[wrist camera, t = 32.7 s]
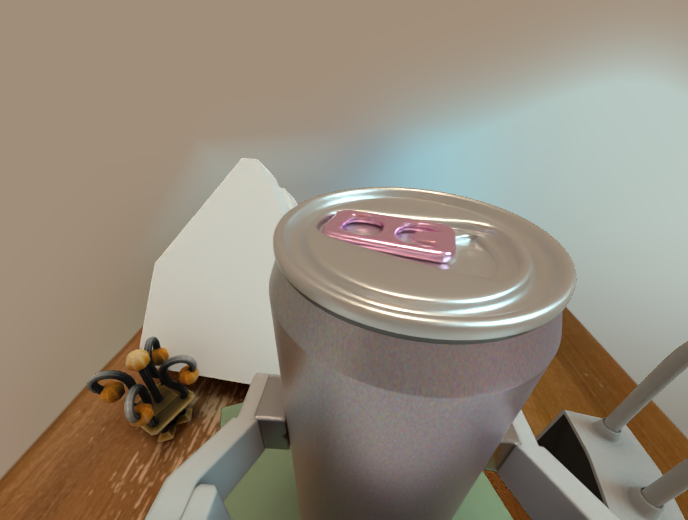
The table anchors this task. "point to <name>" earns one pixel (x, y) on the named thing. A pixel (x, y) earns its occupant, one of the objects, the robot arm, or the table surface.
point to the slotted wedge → (222, 280)
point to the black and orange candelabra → (151, 390)
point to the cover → (282, 500)
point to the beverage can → (407, 344)
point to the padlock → (621, 452)
